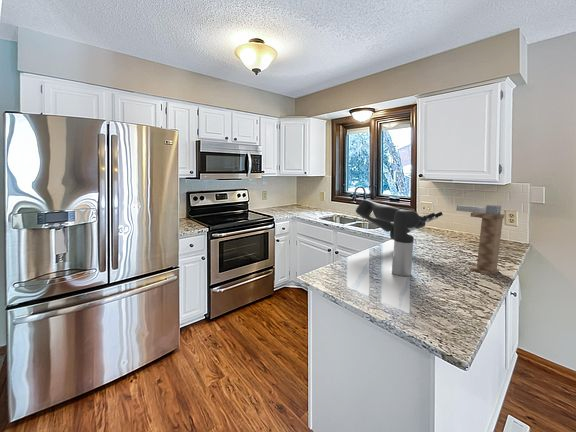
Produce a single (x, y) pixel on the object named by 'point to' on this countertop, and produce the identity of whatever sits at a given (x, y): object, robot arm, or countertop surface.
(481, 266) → the wooden pedestal
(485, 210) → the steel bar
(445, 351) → the countertop surface
